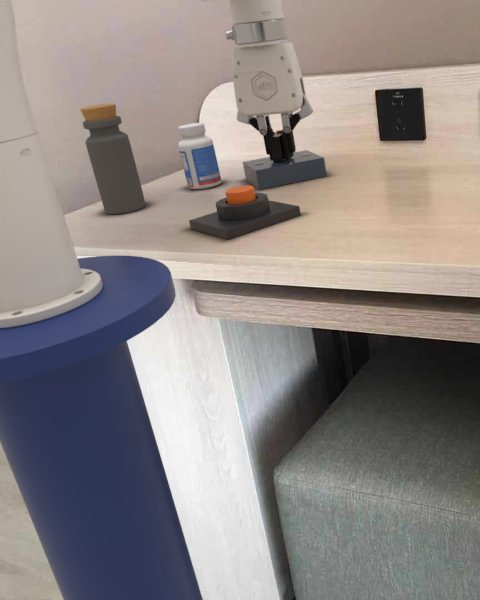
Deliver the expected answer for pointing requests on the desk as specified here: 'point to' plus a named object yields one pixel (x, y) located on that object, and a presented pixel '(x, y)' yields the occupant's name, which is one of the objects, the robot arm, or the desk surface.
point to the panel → (284, 170)
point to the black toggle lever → (277, 147)
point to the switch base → (243, 217)
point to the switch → (240, 194)
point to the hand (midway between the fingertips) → (282, 157)
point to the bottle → (112, 160)
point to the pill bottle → (198, 157)
